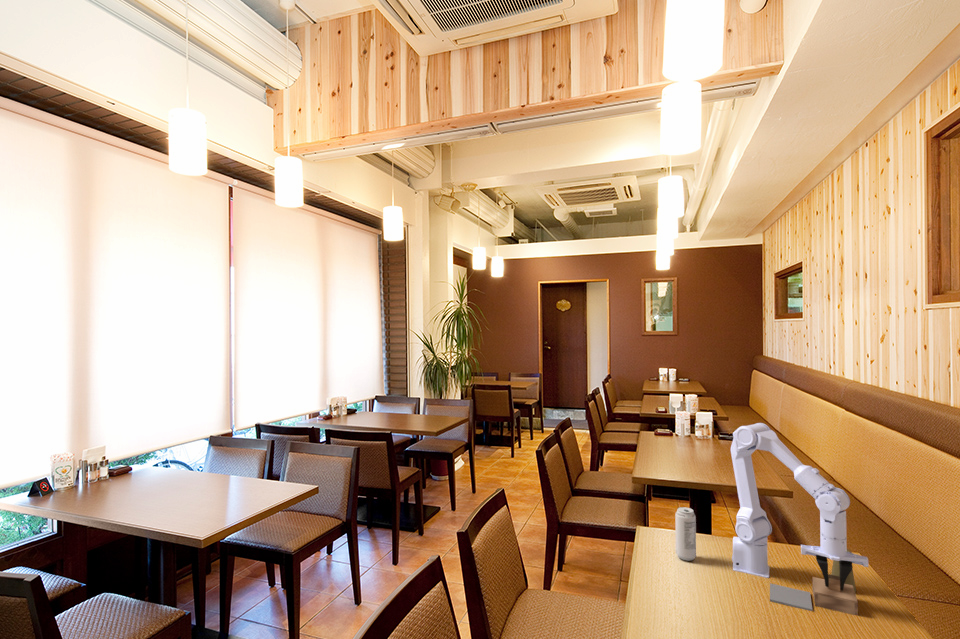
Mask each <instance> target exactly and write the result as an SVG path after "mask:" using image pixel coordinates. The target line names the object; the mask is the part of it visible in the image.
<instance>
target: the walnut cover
mask: <svg viewBox="0 0 960 639" xmlns="http://www.w3.org/2000/svg"><path fill="white" fill-rule="evenodd" d="M828 582H829V587H826V586H825V580H824V578H820V577H816V576H812V593H813V594H812V595H813V602H814V607H818V608H823V609H826V610H831V611H835V612H841V613H844V614H849V615H853V616H857V617H858V612H859V608H858V607H859V606H858V605H859V604H858V603H859V602H858V599H857V595H856V593H855V591H854V588H853V585H849V584H844V588H843V590H840V578H839V576H835V575H831V573H830V574H829V573H828Z"/></svg>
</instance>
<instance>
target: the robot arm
mask: <svg viewBox="0 0 960 639" xmlns="http://www.w3.org/2000/svg"><path fill="white" fill-rule="evenodd" d="M732 437H733V438H732V442H731V445H730V455H731V456H730V457H731V461H732V467H733V473H734V479H735V484H736V489H737V497H738V500H739V507H740V508H739V510H738V511H737V514H736V517H735V518H736V523H735V529H734V530H735V533H736V535H737V536H733V538H732V556H731V561H732V570H733V571H734V572H740V573H744V574H748V575H752V576H755V577H756V576H757V577H761V578H766V579H769V578H770V565H768V564H769V562H768V561H769V560H768V540H769V539H768V536H770V535H771V534H772V532H773V528H772V527H773V526H772V524H771V522H770V520H769V519H768V517H767V512H766V510H764V509H763V508H762V507H761V504H760V499H759V498H760V497H759V494H758V492H759V491H758V487H757V482H756V481H757V480H756V475H755V470H754V469H755V468H754V463H753V458H752V454H753V453H755V451H756V450H760V451H765V452H770V453H771V454H772V455H773V456H774V457H776V458H777V459H778V461H780V462H781V463H782V464H783V465H784V466H786V467H787V469H790V471H791V472H793V476H794V477H793V478H794V480H795V481H796V482H797V483H798V484H799V485H800V487H802V488H803V489H804V490H805V491H806V492H807V493H808V494H809V495H810V496H811V497H813V499H814V501H815V505H816V507H817V509H818V510H819V520H820V521H819V524H820V525H819V526H820V527H819V530H820V531H819V532H820V533H819V535H820V538H819V540H820V541H819V542H820V543H819V544H820V546H818V545H807V544H806V545H805V544H800V554H801V555H804V556H806V555H808V556H813V557H815V559H816V563H817V566H819V568H820V571H821V574H822V575H823V579H824V580H825V586H826V587H829V582H828V574H829V562H828V559H829V560H831V561H833V560H835V561H839V569H840V575H839V578H840V590H843V588H844V584H845V581H846V579H847V577H848V575H849V573H850V572H851V571H852V569H854V568H853V564H854V565H859V566H863V568H864V567H865V568H869V558H868V556H864V555H860V554H856V553H853V552H852V553H850V552H847V549H848V548H847V541H848V540H847V511H846V510H847V509H848V508H849V507H850V505H851V500H850V497H849V495H848V494H847V493H846V491H845V490H844V489H841V488H839V487H835V485H834V484H833V483H830V482H829V481H828V480H827V479H826V478H825V477H824V476H822V475H821V474H820V470H819V469H818V468H816V467H813V466H812V465H805V464H803V462H801V460H800V459H799V458H797V456H796V455H795V454H794V453H793V452H792V451H791V450H790V449H789V448H788V447H787V446H786V445H785V444H784V443H783V442H782V441H781V440H780V439H779V436H778V435H777V433H776V432H775V431H774V430H772V429H771V428H770V426H768V425H767V424H765V423H763V422H757V423H754V424H748V425H741V426H739V427H738V428H737V429H735V430H734V432H732Z"/></svg>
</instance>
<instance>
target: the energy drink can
mask: <svg viewBox="0 0 960 639" xmlns="http://www.w3.org/2000/svg"><path fill="white" fill-rule="evenodd" d="M674 514H675V515H674V518H675V521H674V522H675V554H676V555H677V557H678V558H679V559H680V560H683V561H687V562H688V561H693V560H695V558H696V557H697V523H696V522H697V519H696V518H697V517H696V514H695V512H694V509H692V508H691V507H687V506H686V507H685V506H681V507H680V506H679V507H678V508H677V510H676V512H675V513H674Z"/></svg>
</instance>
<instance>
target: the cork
mask: <svg viewBox="0 0 960 639" xmlns="http://www.w3.org/2000/svg"><path fill="white" fill-rule="evenodd" d="M847 552H850V553H853V552H852V551H851V550H850V549H848V548H847ZM831 567H832V568H831V573H830V575H835V576H839V575H840V569H839V561H835V560H832V566H831ZM853 569H854V568H853ZM853 569H852V571H851V572H850V573H849V575H848V577H847V579H846V581H845V584H849V585H853V588H854V591H855V594H856V593H857V589H856V583H855V577H854V571H853Z"/></svg>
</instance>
